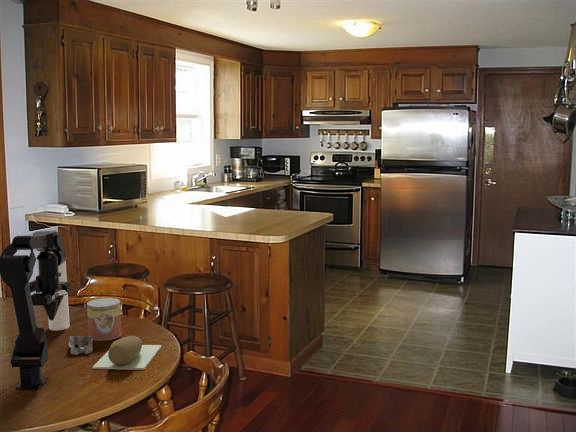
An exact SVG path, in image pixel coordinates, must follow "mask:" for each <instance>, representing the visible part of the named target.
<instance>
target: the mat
mask: <svg viewBox="0 0 576 432" xmlns="http://www.w3.org/2000/svg"><path fill="white" fill-rule="evenodd" d="M161 348H162V345H161V344H160V345H159V344H142V348H141V351H140V352H139V353H138V354H137V356H136V357H135V358H134V359H133V360H132V361H131V362H130V363H129V364H126V365H116V364H114V363H112V362H111V361H110V360H109V357H108V352H109V350H107V351H106V352H105V353H104V355H102V356H101V357H100V359H99V360H98V361H97V362H96V363H95V364H94V365H93V366H92V369H93V370H134V371H135V370H136V371H138V370H140V371H143V370H145V369H147V367H148V365H150V363H151V362H152V360H153V359H154V358H155V357H156V355H157V354H158V352H159V351H160V350H161Z"/></svg>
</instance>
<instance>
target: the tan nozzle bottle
mask: <svg viewBox="0 0 576 432" xmlns="http://www.w3.org/2000/svg"><path fill="white" fill-rule="evenodd" d="M142 345H143V341H142V339H141V338H140V337H139V336H138V337H137V336H135V335H127V336H125V337H122V338H119V339H117V340H114V341H113V342H112V344H111V345H110V347H109V349H108V351H109V352H108V351H107V352H108V357H109V360H110V361H111V362H112V363H114V364H116V365H126V364H129V363H130V362H131V361H132V360H133V359H134V358H135V357H136V356H137V354H138V353H139V352H140V351H141V348H142Z"/></svg>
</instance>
